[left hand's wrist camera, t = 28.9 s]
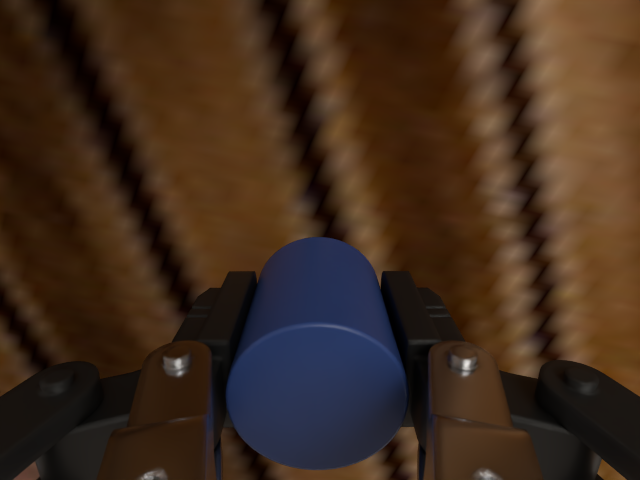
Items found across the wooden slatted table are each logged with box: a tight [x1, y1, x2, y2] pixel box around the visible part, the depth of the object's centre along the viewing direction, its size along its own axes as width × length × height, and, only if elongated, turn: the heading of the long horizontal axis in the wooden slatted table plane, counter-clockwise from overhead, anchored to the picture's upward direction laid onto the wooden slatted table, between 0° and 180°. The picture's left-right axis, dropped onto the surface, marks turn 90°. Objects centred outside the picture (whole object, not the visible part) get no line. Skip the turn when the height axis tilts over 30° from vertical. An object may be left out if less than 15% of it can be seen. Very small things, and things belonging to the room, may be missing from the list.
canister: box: [225, 237, 409, 470], centre depth 10 cm, size 4×4×5 cm
